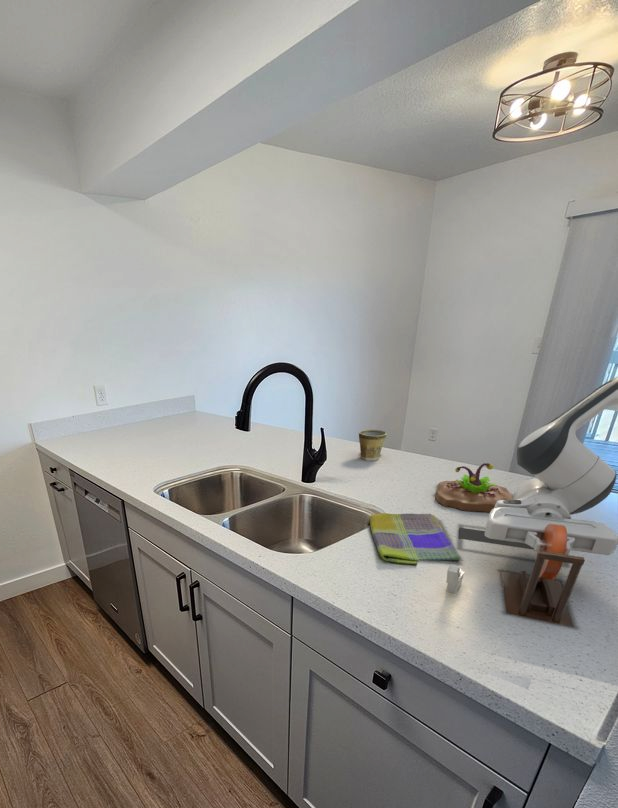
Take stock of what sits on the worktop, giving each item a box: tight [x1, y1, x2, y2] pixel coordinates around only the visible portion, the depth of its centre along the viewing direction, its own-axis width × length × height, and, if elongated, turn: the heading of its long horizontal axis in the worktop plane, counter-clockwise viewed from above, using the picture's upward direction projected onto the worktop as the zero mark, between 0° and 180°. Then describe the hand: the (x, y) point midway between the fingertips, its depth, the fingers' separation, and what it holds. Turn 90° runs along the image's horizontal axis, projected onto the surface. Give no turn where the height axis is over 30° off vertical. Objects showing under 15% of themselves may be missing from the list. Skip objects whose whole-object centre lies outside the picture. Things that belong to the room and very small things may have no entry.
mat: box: [458, 527, 534, 551], centre depth 102 cm, size 20×14×1 cm
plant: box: [434, 462, 514, 513], centre depth 126 cm, size 20×20×11 cm
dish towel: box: [368, 512, 461, 565], centre depth 107 cm, size 18×24×3 cm
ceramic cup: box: [358, 429, 388, 462], centre depth 168 cm, size 13×10×10 cm
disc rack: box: [500, 551, 586, 628], centre depth 80 cm, size 10×16×14 cm, turn 152°
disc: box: [535, 524, 567, 580], centre depth 78 cm, size 2×10×10 cm, turn 152°
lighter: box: [445, 565, 465, 595], centre depth 85 cm, size 7×2×8 cm, turn 139°
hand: (552, 550), depth 77 cm, fingers closed on disc, 2 cm apart
